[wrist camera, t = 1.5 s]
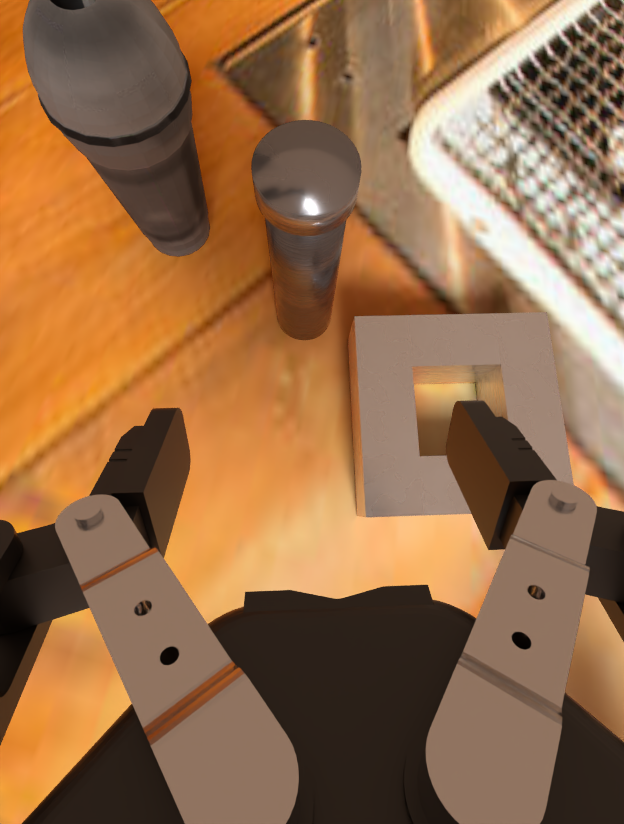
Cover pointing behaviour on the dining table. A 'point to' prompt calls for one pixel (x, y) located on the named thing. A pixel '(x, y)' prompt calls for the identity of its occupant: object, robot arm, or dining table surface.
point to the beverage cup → (123, 108)
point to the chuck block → (433, 364)
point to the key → (305, 217)
